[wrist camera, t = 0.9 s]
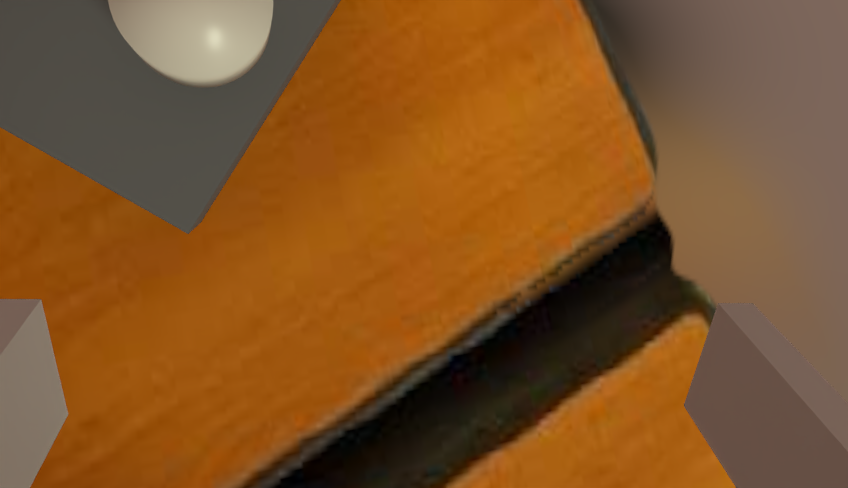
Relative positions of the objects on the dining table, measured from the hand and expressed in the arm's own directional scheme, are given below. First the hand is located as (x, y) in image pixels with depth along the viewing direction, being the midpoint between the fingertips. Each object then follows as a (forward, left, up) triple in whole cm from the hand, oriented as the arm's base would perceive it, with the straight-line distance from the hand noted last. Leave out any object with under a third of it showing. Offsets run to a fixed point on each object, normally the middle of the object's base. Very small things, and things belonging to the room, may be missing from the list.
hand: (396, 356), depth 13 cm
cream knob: (+6, +9, -21) cm, 23 cm away
